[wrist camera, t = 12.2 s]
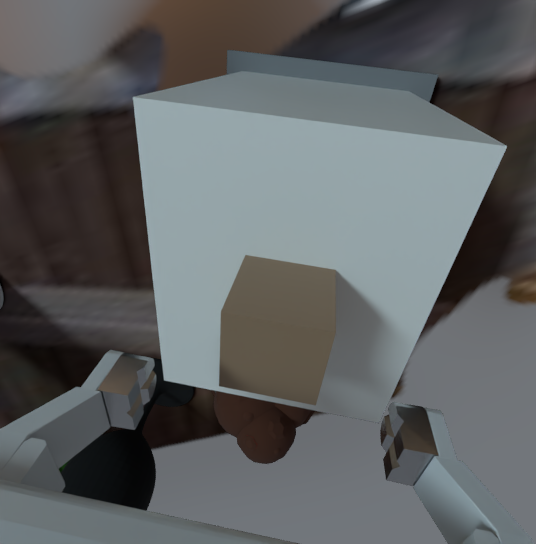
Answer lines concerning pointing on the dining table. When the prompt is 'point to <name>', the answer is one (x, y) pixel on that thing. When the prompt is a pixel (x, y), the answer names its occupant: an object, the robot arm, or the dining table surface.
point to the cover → (302, 232)
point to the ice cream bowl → (259, 424)
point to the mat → (332, 72)
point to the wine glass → (123, 456)
